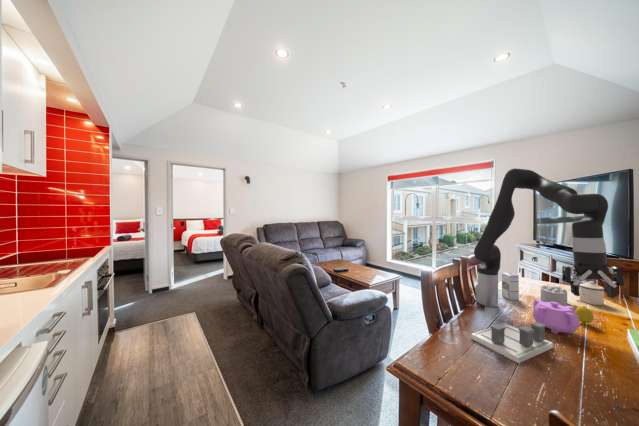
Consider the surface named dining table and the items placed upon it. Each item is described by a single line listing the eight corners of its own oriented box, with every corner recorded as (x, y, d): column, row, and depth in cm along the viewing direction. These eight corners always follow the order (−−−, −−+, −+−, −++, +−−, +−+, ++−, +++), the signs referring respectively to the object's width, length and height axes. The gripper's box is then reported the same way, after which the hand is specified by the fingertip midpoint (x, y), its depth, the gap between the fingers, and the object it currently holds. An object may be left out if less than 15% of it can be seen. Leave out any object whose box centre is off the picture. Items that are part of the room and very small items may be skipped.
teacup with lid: (604, 302, 125) (604, 282, 125) (604, 307, 119) (604, 285, 119) (572, 296, 134) (572, 277, 134) (570, 300, 129) (570, 280, 129)
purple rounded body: (516, 319, 107) (516, 294, 107) (552, 318, 107) (552, 294, 107) (556, 341, 89) (556, 311, 89) (599, 340, 89) (599, 311, 89)
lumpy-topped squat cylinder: (567, 302, 126) (567, 286, 126) (566, 308, 118) (566, 292, 118) (541, 296, 134) (541, 282, 134) (539, 302, 126) (539, 287, 126)
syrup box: (519, 300, 130) (519, 275, 129) (509, 300, 130) (509, 275, 130) (511, 296, 135) (511, 272, 135) (501, 296, 135) (501, 272, 135)
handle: (530, 338, 87) (530, 323, 87) (536, 336, 88) (536, 321, 88) (540, 342, 84) (540, 327, 84) (545, 340, 86) (545, 325, 86)
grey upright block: (490, 340, 85) (490, 325, 85) (497, 338, 87) (497, 323, 87) (498, 345, 83) (498, 329, 83) (505, 342, 84) (505, 327, 84)
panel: (471, 338, 91) (471, 333, 91) (504, 327, 99) (504, 322, 99) (518, 363, 76) (518, 357, 76) (552, 348, 85) (552, 342, 85)
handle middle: (518, 343, 84) (518, 327, 84) (524, 340, 85) (524, 325, 85) (527, 347, 81) (527, 331, 81) (534, 344, 83) (534, 329, 83)
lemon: (597, 327, 99) (597, 309, 99) (582, 326, 100) (582, 308, 100) (585, 321, 104) (585, 304, 104) (571, 320, 106) (571, 303, 106)
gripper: (609, 248, 80) (613, 294, 79) (555, 248, 85) (559, 291, 85) (627, 252, 73) (632, 302, 72) (567, 251, 79) (572, 298, 78)
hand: (593, 296), depth 79 cm, fingers open, 8 cm apart
